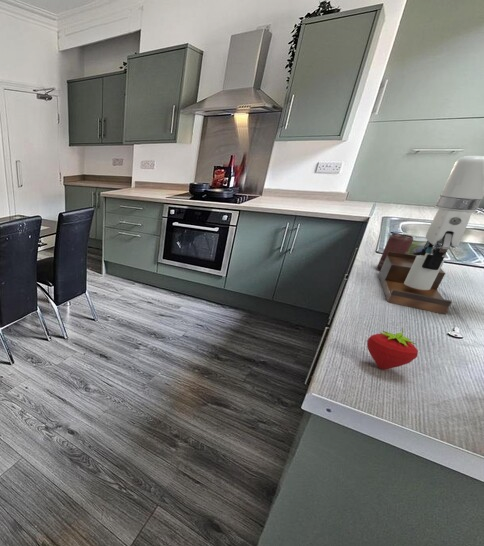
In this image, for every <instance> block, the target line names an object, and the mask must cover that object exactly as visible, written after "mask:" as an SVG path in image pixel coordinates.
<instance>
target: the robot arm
mask: <svg viewBox="0 0 484 546" xmlns="http://www.w3.org/2000/svg"><path fill="white" fill-rule="evenodd" d="M483 198H484V155H465V156H461V157H459V158H458V159H456V161H455V162H454V165H453V166H452V169H451V171H450V173H449V175H448V177H447V180H446V182H445V184H444V186H443V188H442V190H441V193H440V195H439V196H438V199H437V200H436V203H435V205H434V208H435V209H438V210H437V211H436V213H435V215H434V217H433V219H432V221H431V223H430V225H429V227H428V229H427V232H426V234H425V238H426V239H427V242H426V244H425V246H424V249H422V252H421V254H420V255H425V254H426V250H427V248H428V247H432V249H431V251H430V254H428V255H427V257H426V259H425V261H424V263H423V265H422V267H423V268H426V269H432V270H438V269H439V267H440V265H441V263H442V261H443V260H444V259H445V257H446V254H447V252H448V250H450V247H451V248H452V249H455V248H458V247H459V245H460V243H461V240H462V239H463V236H464V233H465V232H466V229H467V227H468V224H469V221H470V219H471V216H472V213H475V212H477V210H478V208H479V206H480V205H481V202H482V200H483ZM436 248H437V249H436ZM435 249H436V250H435Z"/></svg>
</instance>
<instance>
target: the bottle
mask: <svg viewBox="0 0 484 546" xmlns="http://www.w3.org/2000/svg"><path fill="white" fill-rule="evenodd" d="M431 249H432V247H428V248H427V250H426V254H425V255H418V256H416V258H415V261H414V263H413V265H412V267H411V269H410V271H409V273H408V275H407V278H406V280H405V282H404V284H405V285H407V286H409V287H412V288H416V289H421V290H430V288H431V286H432V284H433V282H434V280H435V279H436V277H437V275H438V273H439V271H440V269H442V267H443V265H444V263H445V260H444V259H443V261H442V263H441V265H440V267H439V269H438V270H432V269H426V268H423V267H422V265H423V263H424V261H425V259H426V257H427V255H428V254H430V251H431ZM436 249H437V248H436ZM436 249H435V250H436Z"/></svg>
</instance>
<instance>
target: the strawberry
mask: <svg viewBox="0 0 484 546" xmlns="http://www.w3.org/2000/svg"><path fill="white" fill-rule="evenodd" d="M366 343H367V351H368V352H369V354H370V356H371V358H372V360H373V361H374V362H375V364H376V367H378V368H379V369H381V370H385V371H386V370H390V369H394V368H399V367H402V366H405V365H408V364H410V363H411V362H412V361H414V360H416V358H417V357H418V354H419V351H418V348H417V347H416V346H415V345H416V342H413V341H412V339H411V338H409V337H406V336H404V327H401V332H396V333H395V334H394V333H392V332H388V331H385V330H382V332H380V333H376V334H372V335H370V336H369V337H368V339H367V340H366Z"/></svg>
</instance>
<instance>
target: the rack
mask: <svg viewBox="0 0 484 546" xmlns="http://www.w3.org/2000/svg"><path fill="white" fill-rule="evenodd" d="M416 256H418V255H412V254H406V253H399V252H392V251H389V252H388V254H387V256H386V259H385V261H384V263H383V266H382V268H381V270H380V271H379V273H378V278H379V279H378V280H379V282H380V285H381V288H382V290H383V293H384V295H385V298H386V300H387V303H390V304H394V305H399V306H404V307H409V308H413V309H419V310H422V311H423V310H424V311H428V312H433V313H437V314H441V315H446V314H447V312H448V310H449V308H450V306H451V305H452V303H453V302H452V300H449V299H444V297H443V296H442V294H441V293H440V292H439V290H438V289H439V287H440V285H441V283H442V281H443V279H444V278H445V275H446V272H445V271H444V269H442V268H441V269H440V271H439V273H438V275H437V277H436V279H435V280H434V282H433V284H432V286H431V288H430V290H421V289H416V288H412V287H409V286H407V285H405V284H404V282H405V280H406V278H407V275H408V273H409V271H410V269H411V267H412V265H413V263H414V261H415V258H416Z"/></svg>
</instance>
